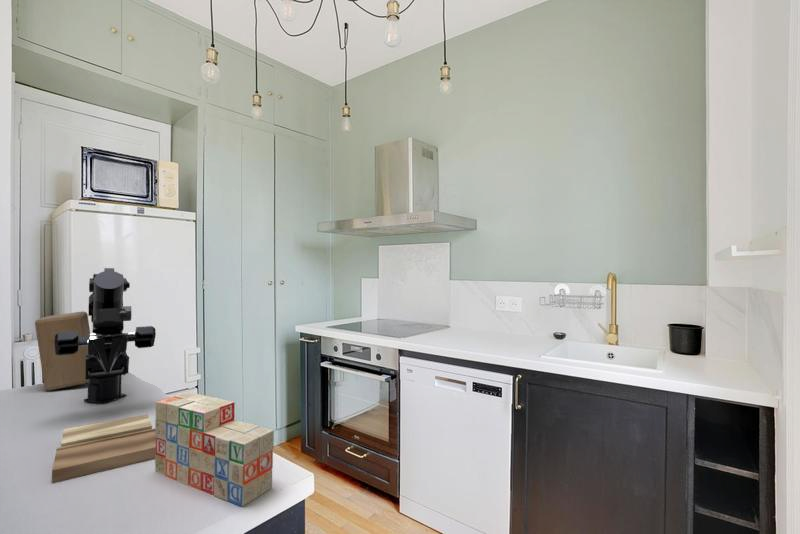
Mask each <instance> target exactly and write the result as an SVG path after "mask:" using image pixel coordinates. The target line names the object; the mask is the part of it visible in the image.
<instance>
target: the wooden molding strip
mask: <svg viewBox="0 0 800 534" xmlns="http://www.w3.org/2000/svg"><path fill="white" fill-rule="evenodd" d="M55 451H56V452H55V455H54V460H53V463H52V464H53V466H52V470H51V483H52V484H53V483H57V482H62V481H65V480H70V479H73V478H78V477H81V476H86V475H91V474H96V473H99V472H100V473H101V472H103V471H107V470H112V469H116V468H119V467H120V468H121V467H125V466H130V465H133V464H137V463H140V462H141V463H142V462H146V461H149V460H154V459H155V455H156V436H155V427H154V428H152V429H149V430H144V431H139V432H134V433H129V434H124V435H119V436H114V437H109V438H104V439H99V440H94V441H89V442H84V443H79V444H74V445H69V446H64V447H61V446H59V447H56V450H55Z"/></svg>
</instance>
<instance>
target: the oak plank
mask: <svg viewBox="0 0 800 534" xmlns="http://www.w3.org/2000/svg"><path fill="white" fill-rule="evenodd" d="M149 429H153V425H152V423H151V419H150V417H149V414H148V413H147V414H141V415H135V416H129V417H124V418H120V419H113V420H108V421H102V422H97V423H91V424H85V425H81V426H75V427H69V428H65V429H63V432H62V438H61V445H60V447H64V446H69V445H74V444H79V443H84V442H89V441H94V440H99V439H104V438H109V437H114V436H119V435H124V434H129V433H134V432H139V431H144V430H149Z"/></svg>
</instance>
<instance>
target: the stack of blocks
mask: <svg viewBox="0 0 800 534" xmlns="http://www.w3.org/2000/svg"><path fill="white" fill-rule="evenodd" d="M154 425H155V426H154V428H155V436H156V455H155V461H154V463H155V464H154V465H155V468H154V470H155V472H156V473H159V474H160V473H161V475H162V474H163V475H162V476H165V477H167V478H169V479H171V480H174V481H176V482H178V483H181V484H183V485H184V486H190V488H191V487H192V488H195V489H197V490H199V491H202V492H204V493H208V494H210V495H212V496H214V497H217V498H219V499H222V500H223V501H224V500H225V501H227V502H229V503H231V504H234V505H237V506H239V507H241V508H242V507H244V506H245V505H247V504H248V503H251V502H252V501H253V500H254V499H256V498H257V497H259V496H261V495H263V494H264V493H266V492H267V491H269V490H270V489H272V488H273V468H274V465H273V463H274V462H273V459H274V447H275V446H274V442H275V441H274V440H275V439H274V435H275V431H274V430H275V429H271V428H266V427H264V426H260V425H256V424H252V423H250V422H249V423H248V422H245V421H242V420H237V419H236V420H235V401H231V400H226V399H221V398H219V397H213V396H208V395H204V394H199V393H196V392H191V391H187V392H184V393H180V394H176V395H174V396H169V397H167V398H162V399H160V400H158V401H155V424H154Z"/></svg>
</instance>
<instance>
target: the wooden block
mask: <svg viewBox="0 0 800 534" xmlns="http://www.w3.org/2000/svg"><path fill="white" fill-rule="evenodd" d="M88 314H89V313H87V312H86V311H84V310H83V311H76V312H67V313H61V314H53V315H47V316H44V317H41V318H38V319H36V320H35V322H34V326H35V327H34V328H35V333H36V339H37V346H38V347H37V348H38V353H39V360H40V365H41V366H40V367H41V373H42V379H43V380H42V381H43V386H44V389H45V390H46V391H54V390H59V389H64V388H69V387H74V386H80V385H83V384H87V383H89V381H90V379H87V380H86V355H88V345H87V346H78V351H77V352H76V353H74V354H69V355H56V354H55V342H54V341H55V335H56V334H57V333H58V332H66V331H78V337H86V336H89V334H91V330H90V329H91V328H90V323H89V322H90V321H89V316H88ZM88 373H89V372H88Z"/></svg>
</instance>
